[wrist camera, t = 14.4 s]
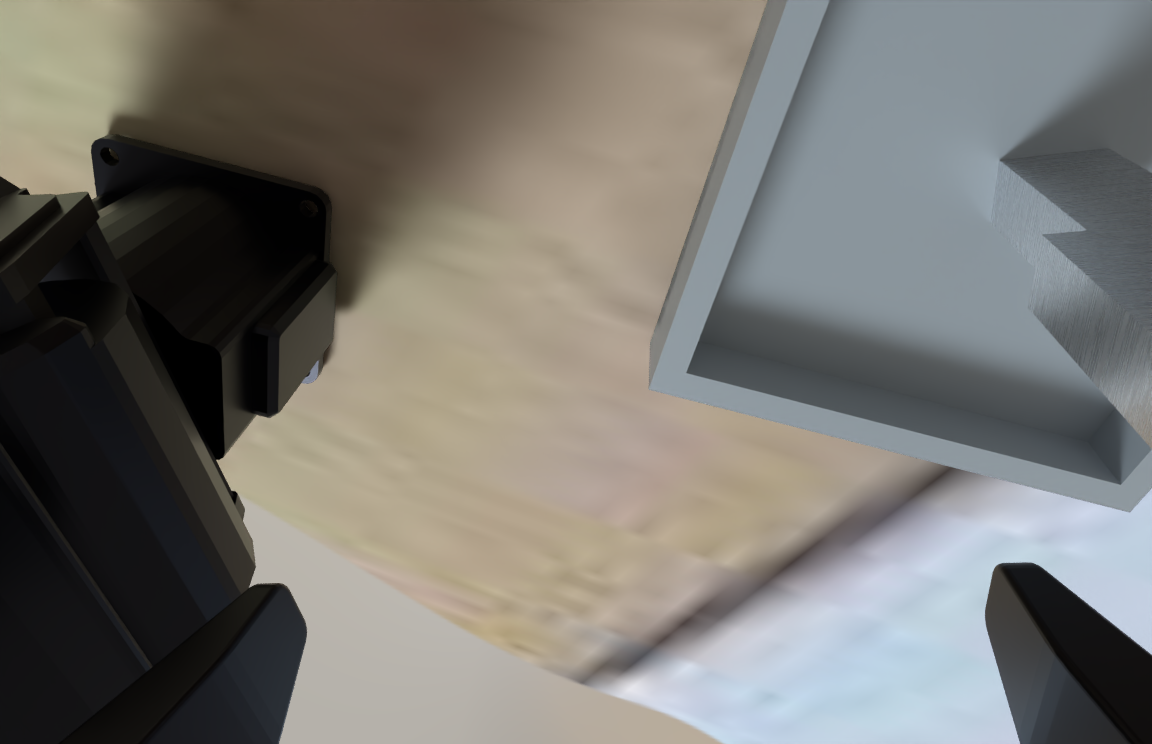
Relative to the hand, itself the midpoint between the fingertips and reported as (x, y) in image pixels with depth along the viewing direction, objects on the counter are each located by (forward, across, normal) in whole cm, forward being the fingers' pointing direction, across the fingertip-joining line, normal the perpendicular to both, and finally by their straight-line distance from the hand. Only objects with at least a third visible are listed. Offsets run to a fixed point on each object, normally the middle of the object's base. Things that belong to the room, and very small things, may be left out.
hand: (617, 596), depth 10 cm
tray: (+13, -9, 0) cm, 16 cm away
